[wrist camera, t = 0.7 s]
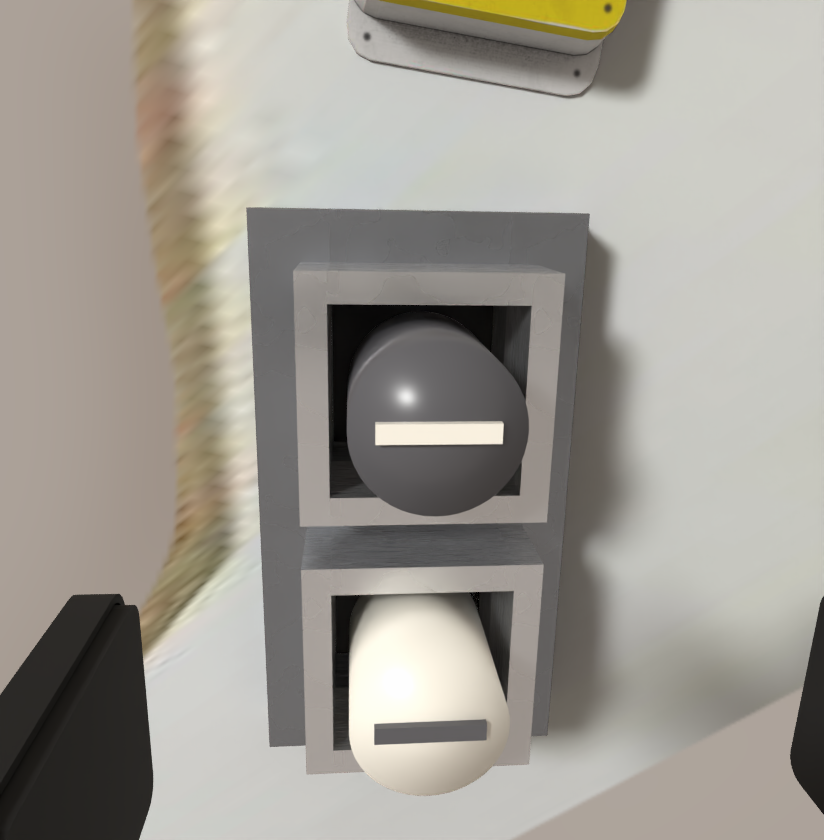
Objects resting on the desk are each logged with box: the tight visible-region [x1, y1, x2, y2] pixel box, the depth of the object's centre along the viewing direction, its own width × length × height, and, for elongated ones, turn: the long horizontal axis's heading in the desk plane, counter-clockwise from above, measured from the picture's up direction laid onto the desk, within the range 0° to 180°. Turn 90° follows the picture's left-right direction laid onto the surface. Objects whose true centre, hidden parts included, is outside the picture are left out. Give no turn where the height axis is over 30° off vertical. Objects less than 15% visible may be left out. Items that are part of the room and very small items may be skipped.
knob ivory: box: [349, 592, 510, 796], centre depth 26 cm, size 5×5×6 cm
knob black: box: [347, 311, 529, 517], centre depth 24 cm, size 5×5×6 cm
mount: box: [247, 208, 590, 774], centre depth 28 cm, size 12×22×6 cm, turn 179°
